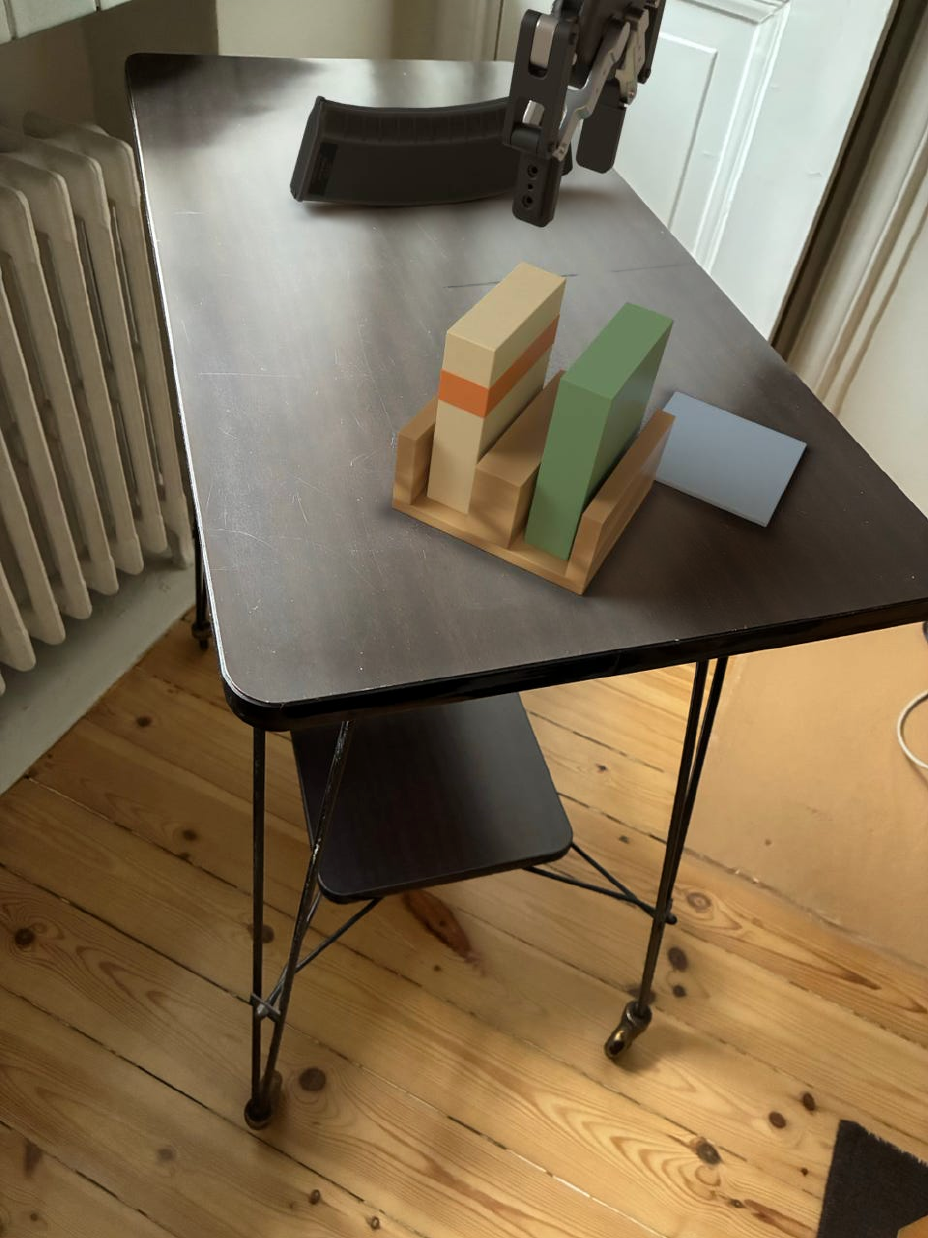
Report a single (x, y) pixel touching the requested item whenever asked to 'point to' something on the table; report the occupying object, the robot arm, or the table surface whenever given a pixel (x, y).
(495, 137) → the magazine
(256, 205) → the table surface
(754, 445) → the felt pad
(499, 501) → the book rack
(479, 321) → the cream book
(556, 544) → the green book
